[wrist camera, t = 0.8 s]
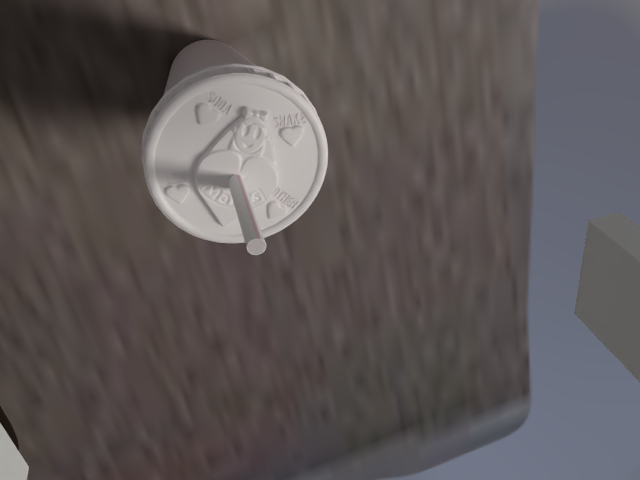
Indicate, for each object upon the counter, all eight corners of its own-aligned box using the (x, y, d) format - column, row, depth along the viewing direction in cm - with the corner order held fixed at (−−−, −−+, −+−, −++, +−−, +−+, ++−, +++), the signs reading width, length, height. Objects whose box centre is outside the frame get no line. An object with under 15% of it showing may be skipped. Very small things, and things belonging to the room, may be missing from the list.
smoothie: (127, 127, 29) (123, 308, 17) (154, -12, 26) (171, 94, 14) (256, 155, 31) (328, 329, 20) (293, 30, 28) (403, 149, 17)
